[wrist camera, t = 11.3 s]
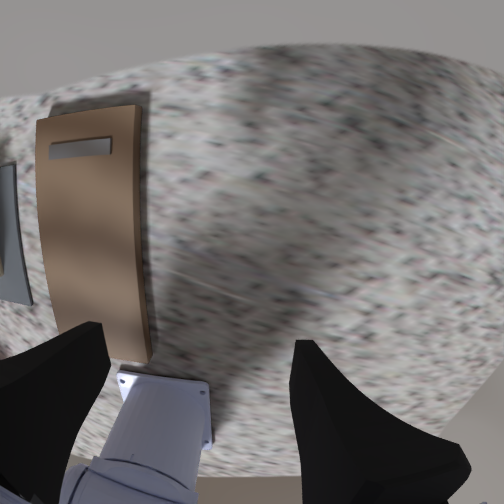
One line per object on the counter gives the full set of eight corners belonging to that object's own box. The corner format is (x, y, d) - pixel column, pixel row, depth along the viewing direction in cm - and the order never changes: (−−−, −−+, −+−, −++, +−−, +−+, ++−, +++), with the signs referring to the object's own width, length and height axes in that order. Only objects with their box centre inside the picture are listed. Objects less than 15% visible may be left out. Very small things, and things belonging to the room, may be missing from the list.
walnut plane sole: (152, 354, 22) (147, 365, 21) (69, 340, 22) (62, 348, 21) (142, 107, 17) (133, 104, 15) (46, 120, 17) (34, 119, 15)
